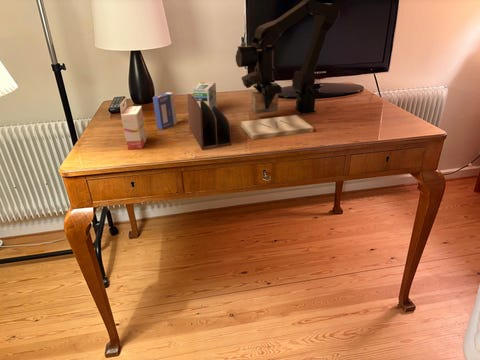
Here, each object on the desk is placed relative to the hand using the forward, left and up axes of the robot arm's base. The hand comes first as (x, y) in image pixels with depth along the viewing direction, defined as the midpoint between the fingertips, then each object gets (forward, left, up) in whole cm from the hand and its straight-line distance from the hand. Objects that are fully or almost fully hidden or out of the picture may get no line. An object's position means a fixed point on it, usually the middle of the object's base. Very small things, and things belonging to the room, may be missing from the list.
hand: (264, 106), depth 131 cm
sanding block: (0, 0, -2) cm, 2 cm away
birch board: (0, +12, -4) cm, 13 cm away
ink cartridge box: (+48, +10, -5) cm, 49 cm away
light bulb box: (+20, -16, -5) cm, 26 cm away
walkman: (+37, -4, -5) cm, 37 cm away
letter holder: (+24, +12, -5) cm, 27 cm away
